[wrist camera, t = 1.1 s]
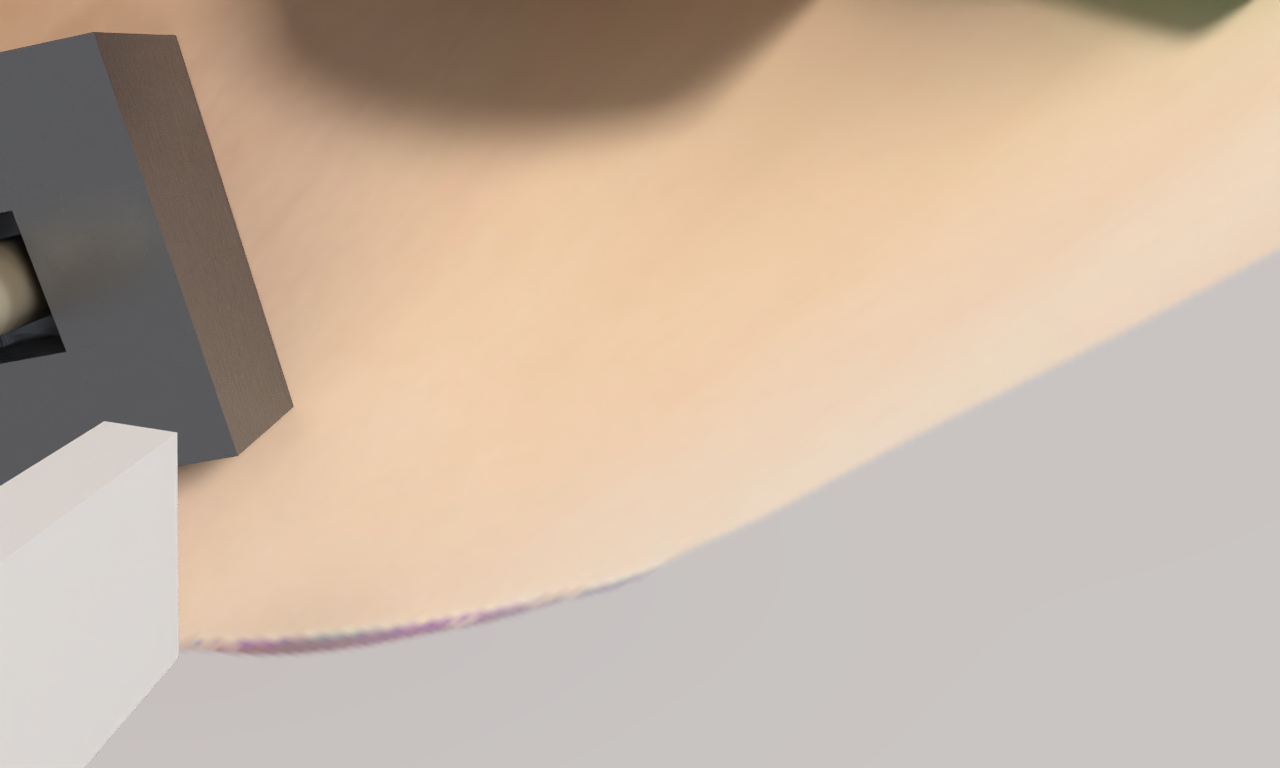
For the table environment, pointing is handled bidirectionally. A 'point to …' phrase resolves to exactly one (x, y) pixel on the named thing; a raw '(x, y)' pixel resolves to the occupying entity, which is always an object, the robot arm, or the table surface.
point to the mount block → (125, 258)
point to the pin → (19, 287)
